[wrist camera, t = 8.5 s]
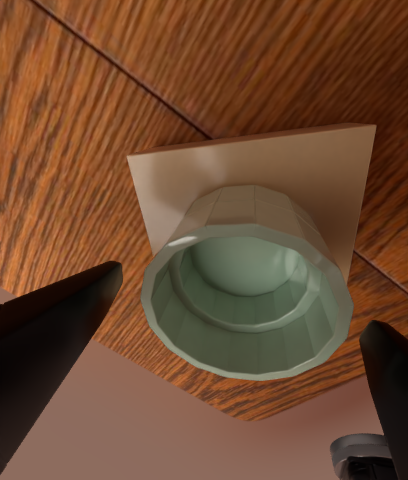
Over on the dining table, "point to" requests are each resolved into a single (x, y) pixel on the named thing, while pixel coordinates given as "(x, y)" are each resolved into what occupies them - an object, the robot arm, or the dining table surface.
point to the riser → (263, 178)
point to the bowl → (247, 287)
